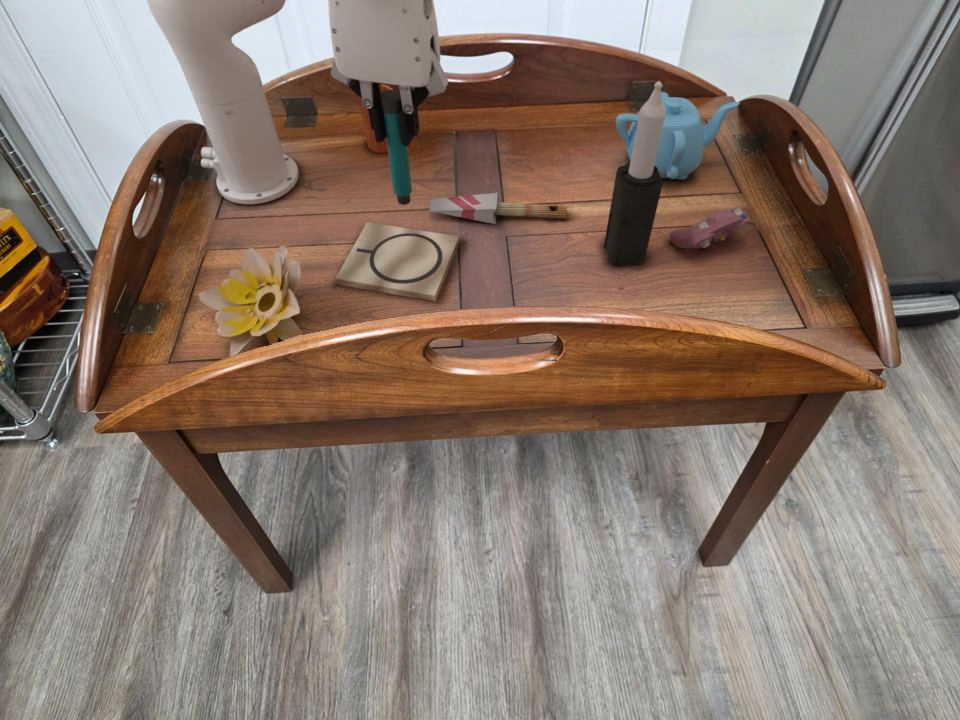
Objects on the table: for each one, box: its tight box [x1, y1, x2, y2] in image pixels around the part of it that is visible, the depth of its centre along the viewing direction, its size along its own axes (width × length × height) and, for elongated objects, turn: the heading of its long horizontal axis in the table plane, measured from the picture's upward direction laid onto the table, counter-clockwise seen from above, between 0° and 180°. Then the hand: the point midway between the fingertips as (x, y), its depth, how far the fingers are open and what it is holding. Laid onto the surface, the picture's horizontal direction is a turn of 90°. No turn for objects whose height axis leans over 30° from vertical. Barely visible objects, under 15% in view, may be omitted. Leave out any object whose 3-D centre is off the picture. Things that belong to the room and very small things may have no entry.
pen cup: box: [358, 83, 394, 154], centre depth 105 cm, size 5×6×9 cm
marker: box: [380, 89, 413, 206], centre depth 74 cm, size 2×2×14 cm
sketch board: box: [335, 221, 461, 302], centre depth 90 cm, size 14×12×1 cm
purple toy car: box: [669, 207, 751, 250], centre depth 89 cm, size 10×5×7 cm, turn 117°
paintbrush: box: [429, 192, 568, 225], centre depth 95 cm, size 4×3×20 cm
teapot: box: [615, 91, 740, 180], centre depth 99 cm, size 13×14×11 cm
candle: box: [603, 80, 666, 267], centre depth 81 cm, size 5×5×25 cm
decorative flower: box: [198, 245, 303, 358], centre depth 80 cm, size 15×11×10 cm
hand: (396, 136), depth 73 cm, fingers closed on marker, 2 cm apart
